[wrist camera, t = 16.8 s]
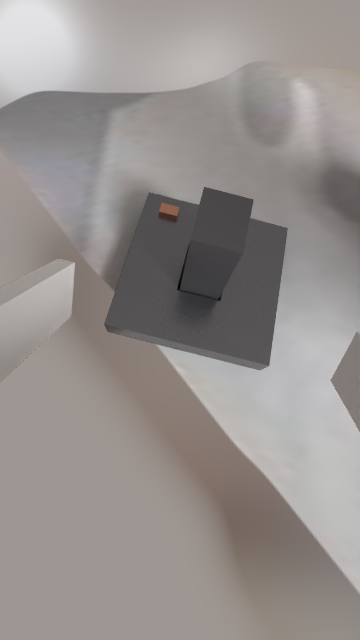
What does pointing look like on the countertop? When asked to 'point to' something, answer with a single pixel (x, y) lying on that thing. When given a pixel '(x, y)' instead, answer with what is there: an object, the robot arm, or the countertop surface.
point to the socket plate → (192, 310)
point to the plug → (216, 242)
